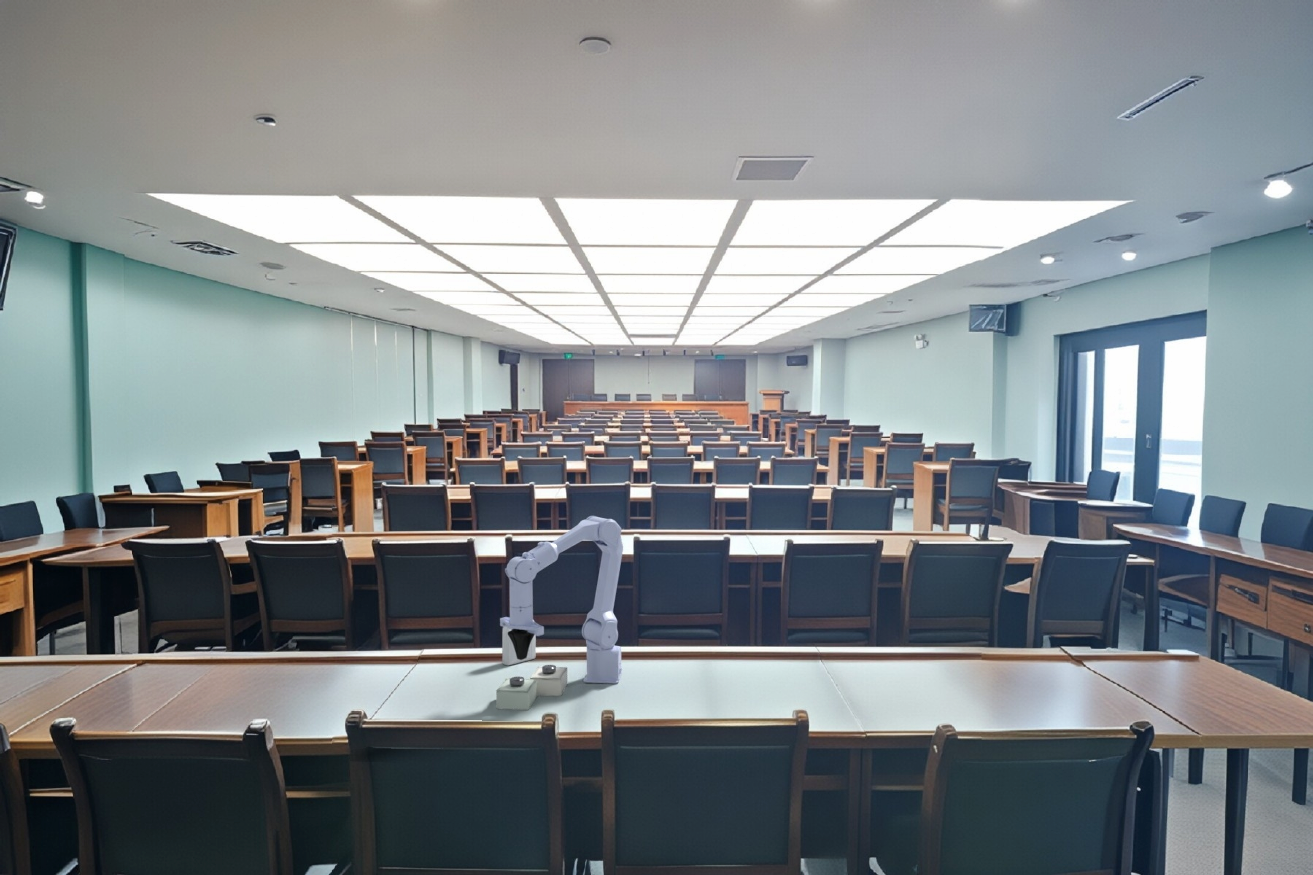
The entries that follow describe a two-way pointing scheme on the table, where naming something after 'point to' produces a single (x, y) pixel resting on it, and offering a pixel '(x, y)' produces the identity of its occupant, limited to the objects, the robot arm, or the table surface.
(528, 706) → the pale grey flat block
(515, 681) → the plunger
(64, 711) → the table surface
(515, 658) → the white rounded slab
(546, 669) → the plunger
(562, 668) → the white square block
